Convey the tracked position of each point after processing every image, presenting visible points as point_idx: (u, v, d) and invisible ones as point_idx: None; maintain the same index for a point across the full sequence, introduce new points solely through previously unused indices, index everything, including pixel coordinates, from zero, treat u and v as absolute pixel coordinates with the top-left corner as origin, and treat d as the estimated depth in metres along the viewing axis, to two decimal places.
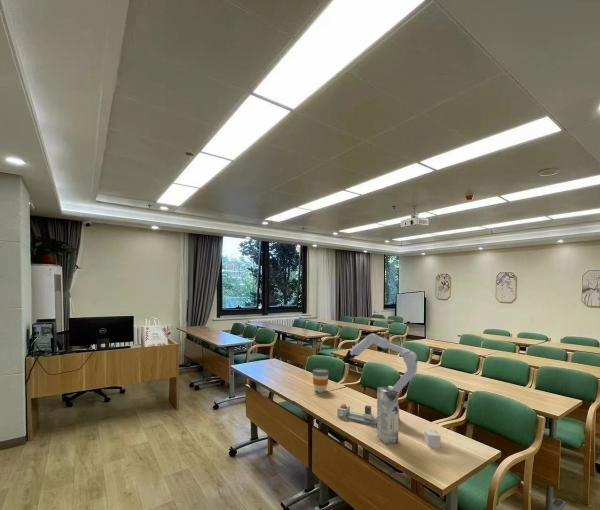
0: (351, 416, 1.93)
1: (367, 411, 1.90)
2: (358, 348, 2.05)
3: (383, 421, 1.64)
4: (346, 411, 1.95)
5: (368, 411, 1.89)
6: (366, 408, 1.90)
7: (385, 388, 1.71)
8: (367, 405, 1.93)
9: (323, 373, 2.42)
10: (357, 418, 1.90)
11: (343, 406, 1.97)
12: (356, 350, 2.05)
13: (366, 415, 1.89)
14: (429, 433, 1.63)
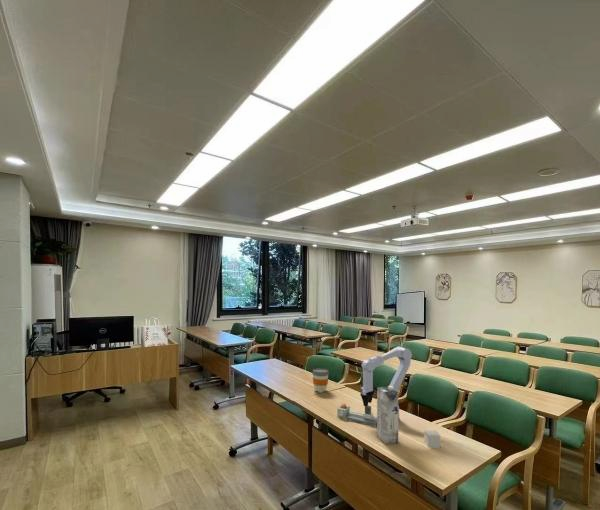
0: (351, 416, 1.93)
1: (367, 411, 1.90)
2: (366, 384, 1.90)
3: (383, 421, 1.64)
4: (346, 411, 1.95)
5: (368, 411, 1.89)
6: (366, 408, 1.90)
7: (385, 388, 1.71)
8: None
9: (323, 373, 2.42)
10: (357, 418, 1.90)
11: (343, 406, 1.97)
12: (366, 387, 1.90)
13: (366, 415, 1.89)
14: (429, 433, 1.63)
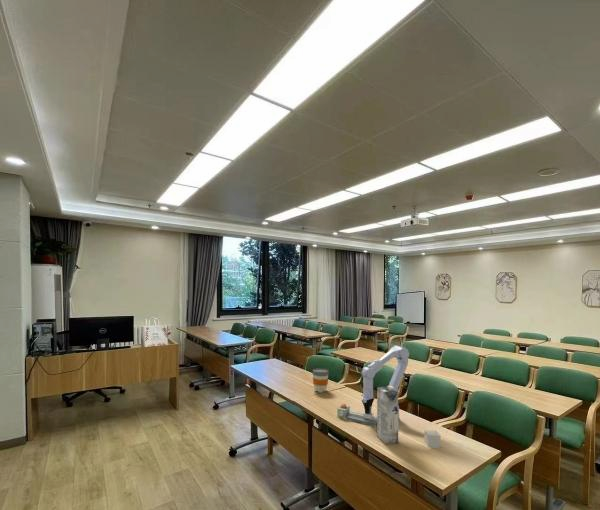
0: (351, 416, 1.93)
1: None
2: (366, 391, 1.90)
3: (383, 421, 1.64)
4: (346, 411, 1.95)
5: None
6: None
7: (385, 388, 1.71)
8: None
9: (323, 373, 2.42)
10: (357, 418, 1.90)
11: (343, 406, 1.97)
12: (366, 395, 1.89)
13: (366, 415, 1.89)
14: (429, 433, 1.63)
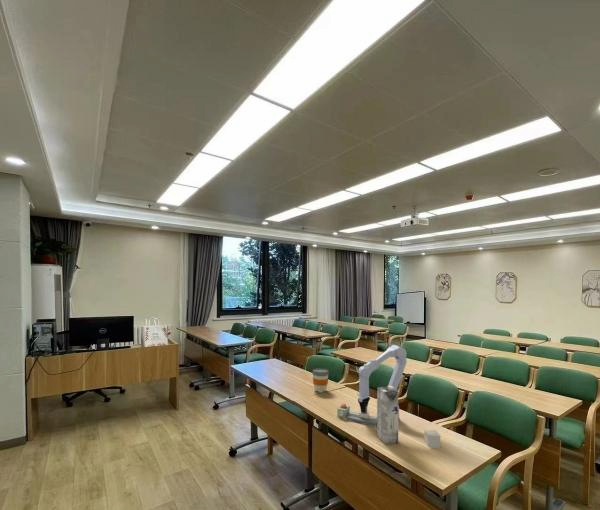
0: (351, 416, 1.93)
1: None
2: (362, 391, 1.91)
3: (383, 421, 1.64)
4: (346, 411, 1.95)
5: None
6: None
7: (385, 388, 1.71)
8: None
9: (323, 373, 2.42)
10: (357, 418, 1.90)
11: (343, 406, 1.97)
12: (362, 394, 1.91)
13: (362, 414, 1.90)
14: (429, 433, 1.63)
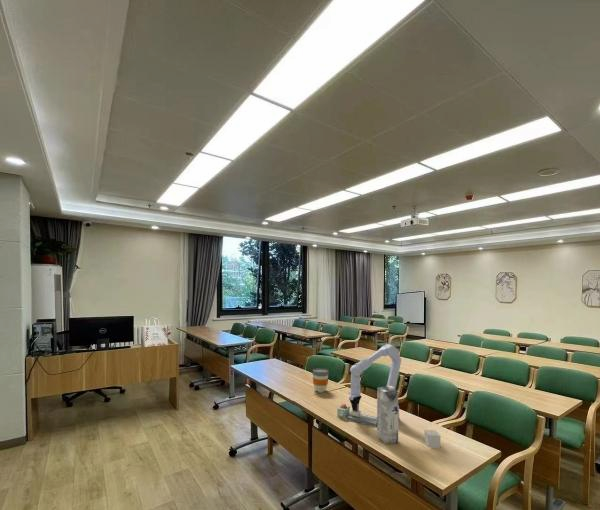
0: (351, 416, 1.93)
1: None
2: (353, 389, 1.94)
3: (383, 421, 1.64)
4: (346, 411, 1.95)
5: None
6: None
7: (385, 388, 1.71)
8: None
9: (323, 373, 2.42)
10: (357, 418, 1.90)
11: (343, 406, 1.97)
12: (353, 392, 1.93)
13: (353, 412, 1.93)
14: (429, 433, 1.63)
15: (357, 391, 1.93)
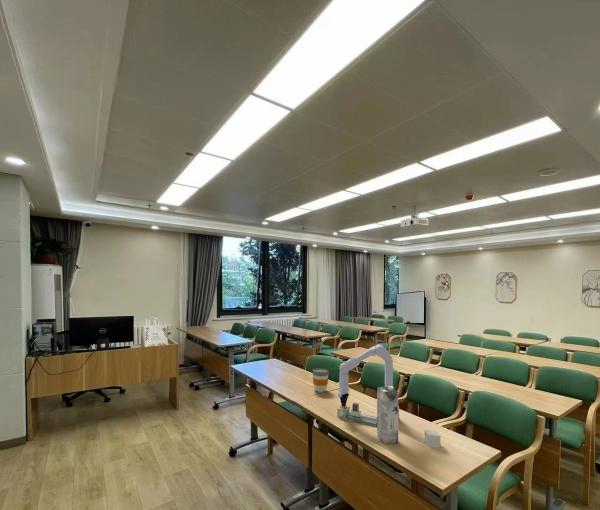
0: (351, 416, 1.93)
1: (354, 408, 1.93)
2: (342, 386, 1.97)
3: (383, 421, 1.64)
4: (346, 411, 1.95)
5: (355, 408, 1.93)
6: (354, 405, 1.94)
7: (385, 388, 1.71)
8: None
9: (323, 373, 2.42)
10: (357, 418, 1.90)
11: (343, 407, 1.97)
12: (342, 390, 1.97)
13: (353, 412, 1.93)
14: (429, 433, 1.63)
15: (345, 388, 1.97)
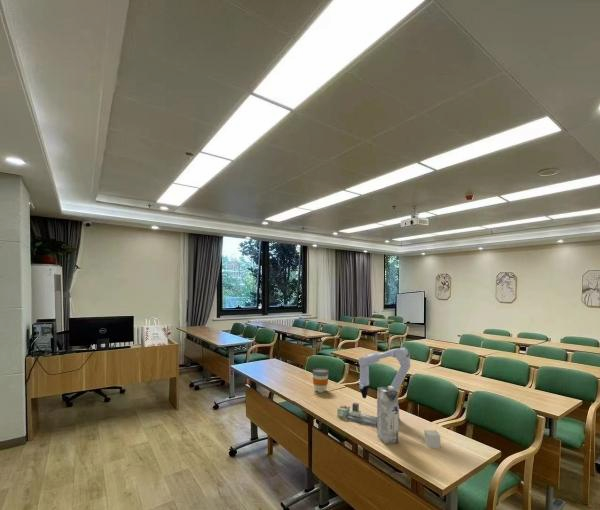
0: (351, 416, 1.93)
1: (354, 408, 1.93)
2: (362, 379, 2.03)
3: (383, 421, 1.64)
4: (346, 411, 1.95)
5: (355, 408, 1.93)
6: (354, 405, 1.94)
7: (385, 388, 1.71)
8: None
9: (323, 373, 2.42)
10: (357, 418, 1.90)
11: None
12: (363, 382, 2.02)
13: (353, 412, 1.93)
14: (429, 433, 1.63)
15: (366, 380, 2.02)
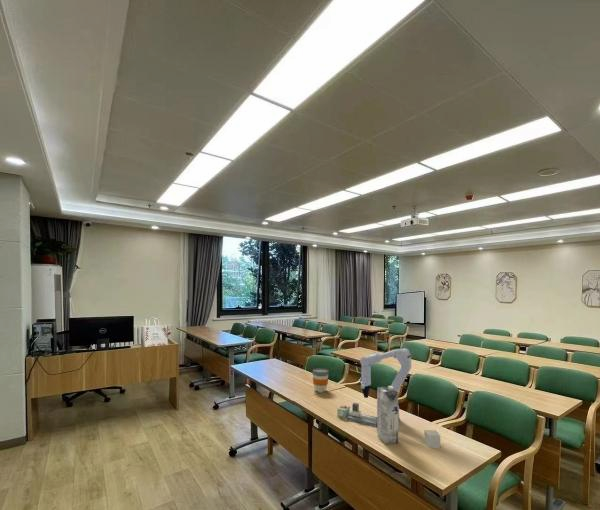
0: (351, 416, 1.93)
1: (354, 408, 1.93)
2: (364, 378, 2.03)
3: (383, 421, 1.64)
4: (346, 411, 1.95)
5: (355, 408, 1.93)
6: (354, 405, 1.94)
7: (385, 388, 1.71)
8: None
9: (323, 373, 2.42)
10: (357, 418, 1.90)
11: None
12: (364, 381, 2.03)
13: (353, 412, 1.93)
14: (429, 433, 1.63)
15: (368, 380, 2.03)
